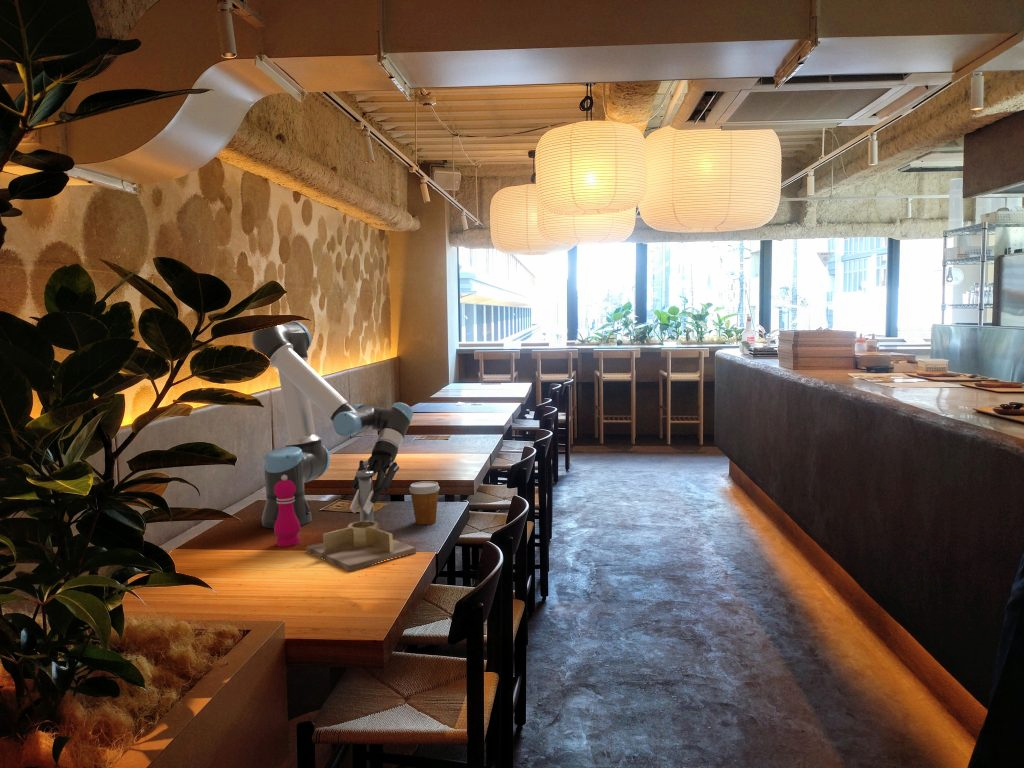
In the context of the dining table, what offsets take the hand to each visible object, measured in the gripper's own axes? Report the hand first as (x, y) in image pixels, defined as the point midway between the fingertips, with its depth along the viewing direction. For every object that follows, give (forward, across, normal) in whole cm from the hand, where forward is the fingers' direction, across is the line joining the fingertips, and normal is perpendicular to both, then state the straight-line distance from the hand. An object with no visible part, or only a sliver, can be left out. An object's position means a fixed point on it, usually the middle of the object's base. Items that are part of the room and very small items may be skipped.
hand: (359, 511), depth 211 cm
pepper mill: (+15, +16, +4) cm, 22 cm away
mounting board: (+15, -10, +5) cm, 18 cm away
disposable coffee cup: (-8, -12, -18) cm, 23 cm away
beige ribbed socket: (+15, -11, +7) cm, 20 cm away
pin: (+2, 0, -8) cm, 8 cm away
